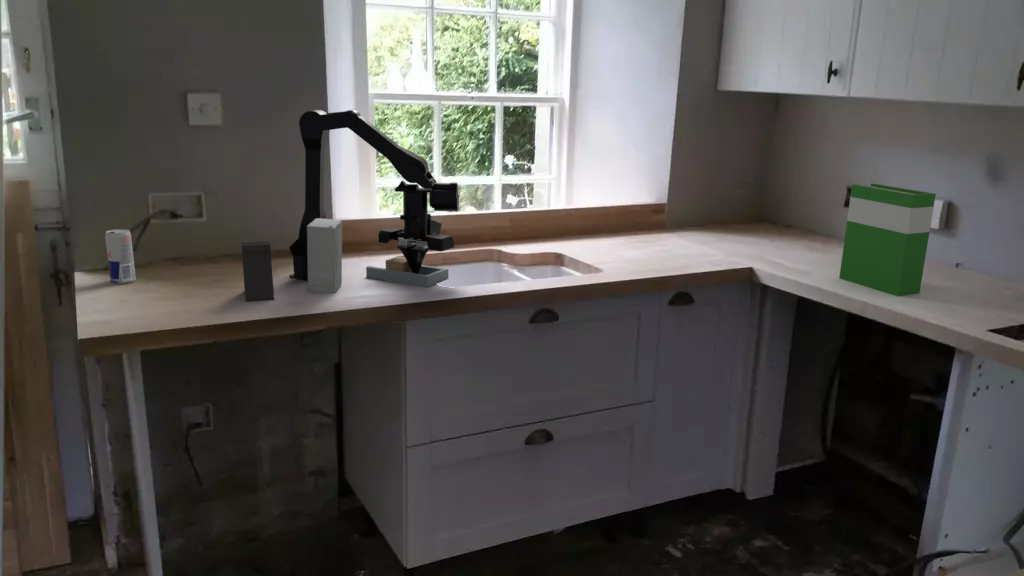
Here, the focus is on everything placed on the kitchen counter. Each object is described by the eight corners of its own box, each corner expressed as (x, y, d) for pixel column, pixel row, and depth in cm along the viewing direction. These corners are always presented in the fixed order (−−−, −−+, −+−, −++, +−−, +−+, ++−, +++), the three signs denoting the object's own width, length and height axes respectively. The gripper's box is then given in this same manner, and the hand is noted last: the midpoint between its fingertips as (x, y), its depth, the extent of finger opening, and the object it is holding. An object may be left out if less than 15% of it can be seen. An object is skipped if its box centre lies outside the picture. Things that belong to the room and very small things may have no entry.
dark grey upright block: (244, 291, 180) (240, 239, 177) (272, 289, 182) (268, 238, 179) (245, 302, 172) (241, 248, 169) (274, 300, 174) (270, 246, 171)
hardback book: (839, 278, 202) (851, 184, 196) (860, 275, 205) (873, 183, 199) (897, 296, 187) (913, 195, 181) (919, 293, 190) (935, 193, 184)
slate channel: (427, 287, 186) (427, 276, 185) (366, 276, 194) (366, 266, 193) (448, 278, 194) (448, 269, 193) (388, 269, 202) (388, 259, 201)
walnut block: (403, 281, 192) (402, 262, 190) (386, 278, 194) (385, 260, 193) (414, 276, 196) (414, 258, 195) (398, 273, 198) (398, 256, 197)
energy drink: (111, 279, 187) (105, 229, 184) (136, 277, 189) (131, 228, 186) (109, 285, 182) (103, 234, 179) (135, 283, 184) (129, 232, 181)
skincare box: (315, 283, 187) (312, 217, 183) (345, 284, 187) (343, 218, 183) (306, 293, 179) (302, 224, 175) (337, 294, 179) (335, 225, 175)
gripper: (466, 209, 191) (465, 272, 195) (403, 201, 199) (403, 262, 203) (441, 216, 181) (441, 282, 186) (375, 208, 190) (377, 271, 194)
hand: (415, 273), depth 192 cm, fingers closed
